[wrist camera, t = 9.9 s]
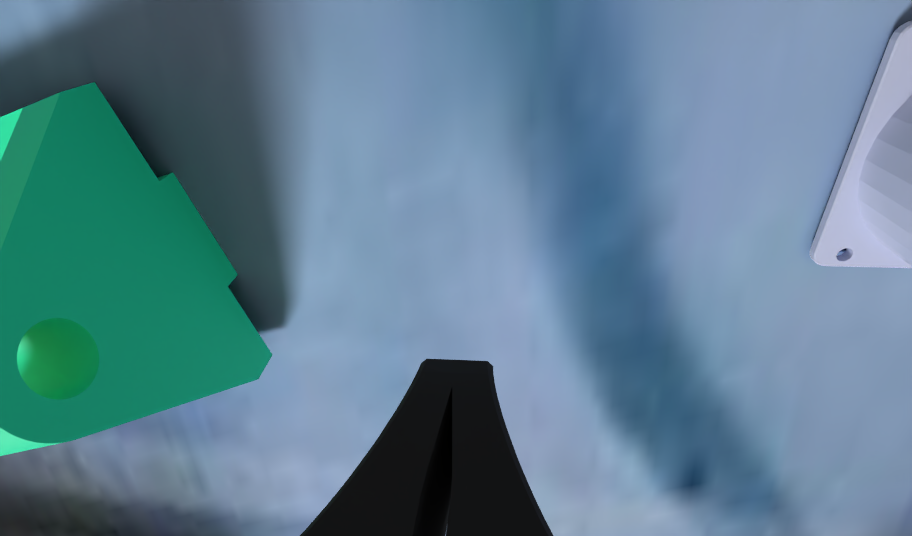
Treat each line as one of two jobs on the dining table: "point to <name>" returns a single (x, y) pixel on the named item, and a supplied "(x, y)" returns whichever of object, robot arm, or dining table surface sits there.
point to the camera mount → (104, 281)
